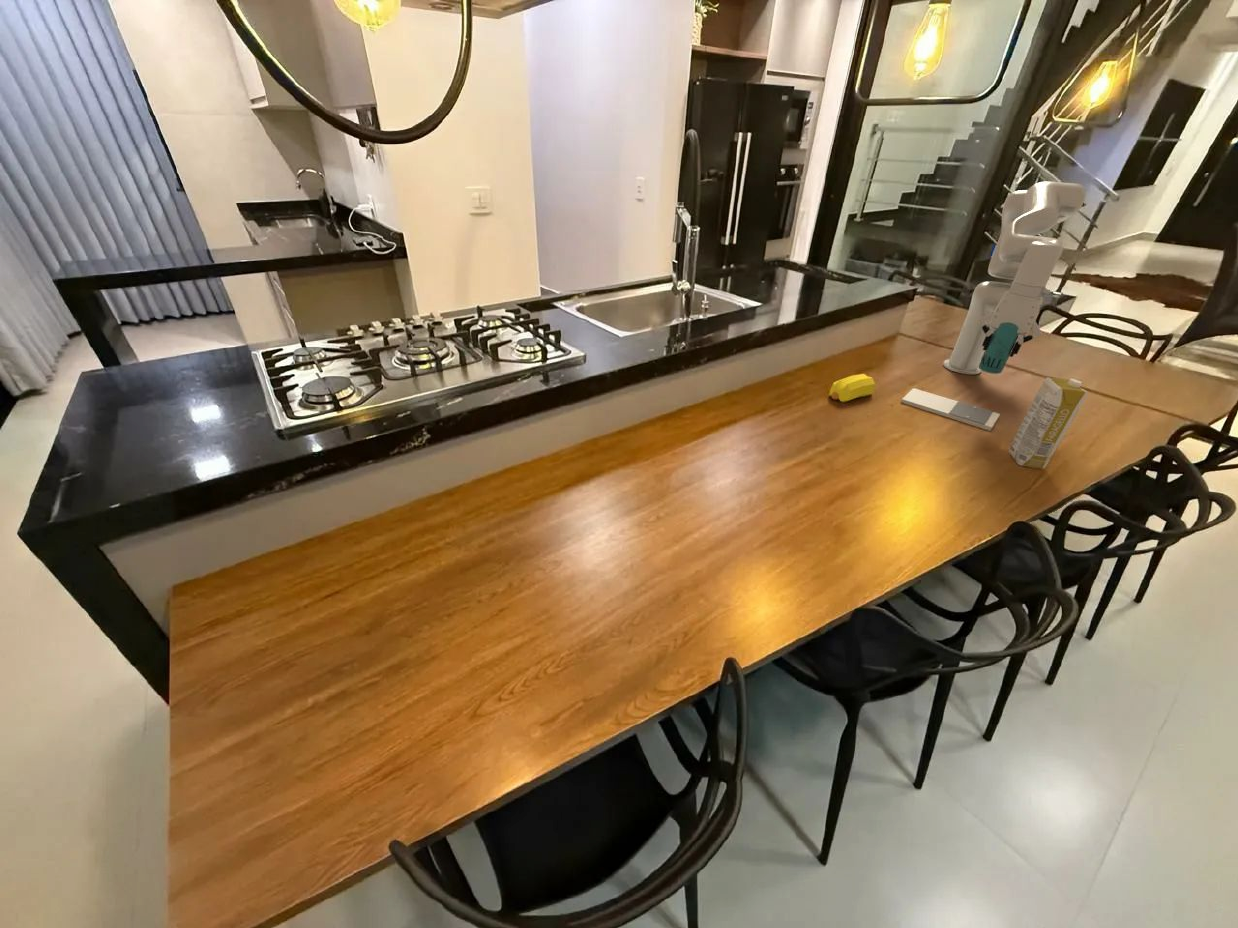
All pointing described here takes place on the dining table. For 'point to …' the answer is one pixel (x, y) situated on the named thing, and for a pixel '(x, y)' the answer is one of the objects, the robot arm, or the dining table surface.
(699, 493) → the dining table surface
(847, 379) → the yellow faceted oblong part
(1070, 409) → the juice carton
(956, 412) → the floor panel
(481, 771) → the dining table surface
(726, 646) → the dining table surface
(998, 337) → the beverage bottle
